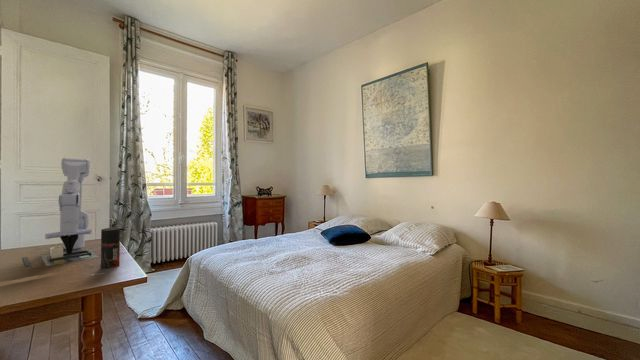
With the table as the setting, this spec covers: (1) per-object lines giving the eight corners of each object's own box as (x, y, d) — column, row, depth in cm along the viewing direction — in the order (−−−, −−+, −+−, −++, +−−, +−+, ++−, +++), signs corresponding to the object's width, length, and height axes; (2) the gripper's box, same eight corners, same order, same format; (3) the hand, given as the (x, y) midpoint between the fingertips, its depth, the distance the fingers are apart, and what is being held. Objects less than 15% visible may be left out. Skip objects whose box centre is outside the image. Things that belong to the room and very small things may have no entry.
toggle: (50, 258, 114) (50, 246, 113) (61, 256, 116) (61, 245, 116) (51, 260, 111) (51, 248, 111) (63, 258, 114) (63, 246, 114)
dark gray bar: (22, 260, 113) (22, 257, 113) (27, 260, 114) (27, 256, 114) (25, 270, 103) (25, 266, 103) (30, 269, 104) (30, 265, 104)
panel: (40, 258, 117) (40, 253, 117) (88, 250, 129) (88, 246, 129) (46, 269, 104) (46, 263, 104) (99, 259, 117) (99, 255, 116)
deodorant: (111, 269, 106) (112, 230, 106) (96, 268, 106) (97, 230, 106) (123, 264, 112) (123, 227, 112) (108, 263, 112) (109, 227, 112)
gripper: (46, 224, 108) (46, 258, 108) (93, 220, 119) (92, 251, 120) (44, 222, 113) (44, 255, 113) (89, 218, 124) (89, 248, 124)
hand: (69, 253), depth 117 cm, fingers closed
